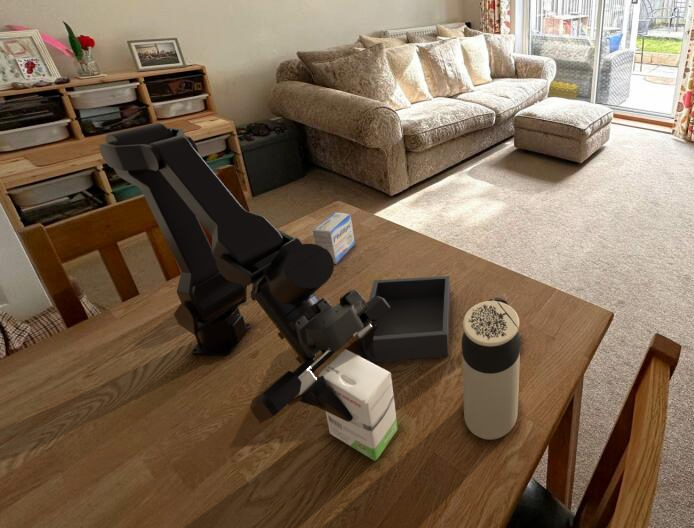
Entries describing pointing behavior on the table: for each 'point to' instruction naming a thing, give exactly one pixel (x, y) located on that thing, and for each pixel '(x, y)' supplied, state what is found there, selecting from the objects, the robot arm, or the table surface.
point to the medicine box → (335, 235)
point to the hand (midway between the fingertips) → (366, 402)
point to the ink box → (361, 403)
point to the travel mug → (490, 369)
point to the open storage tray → (412, 318)
